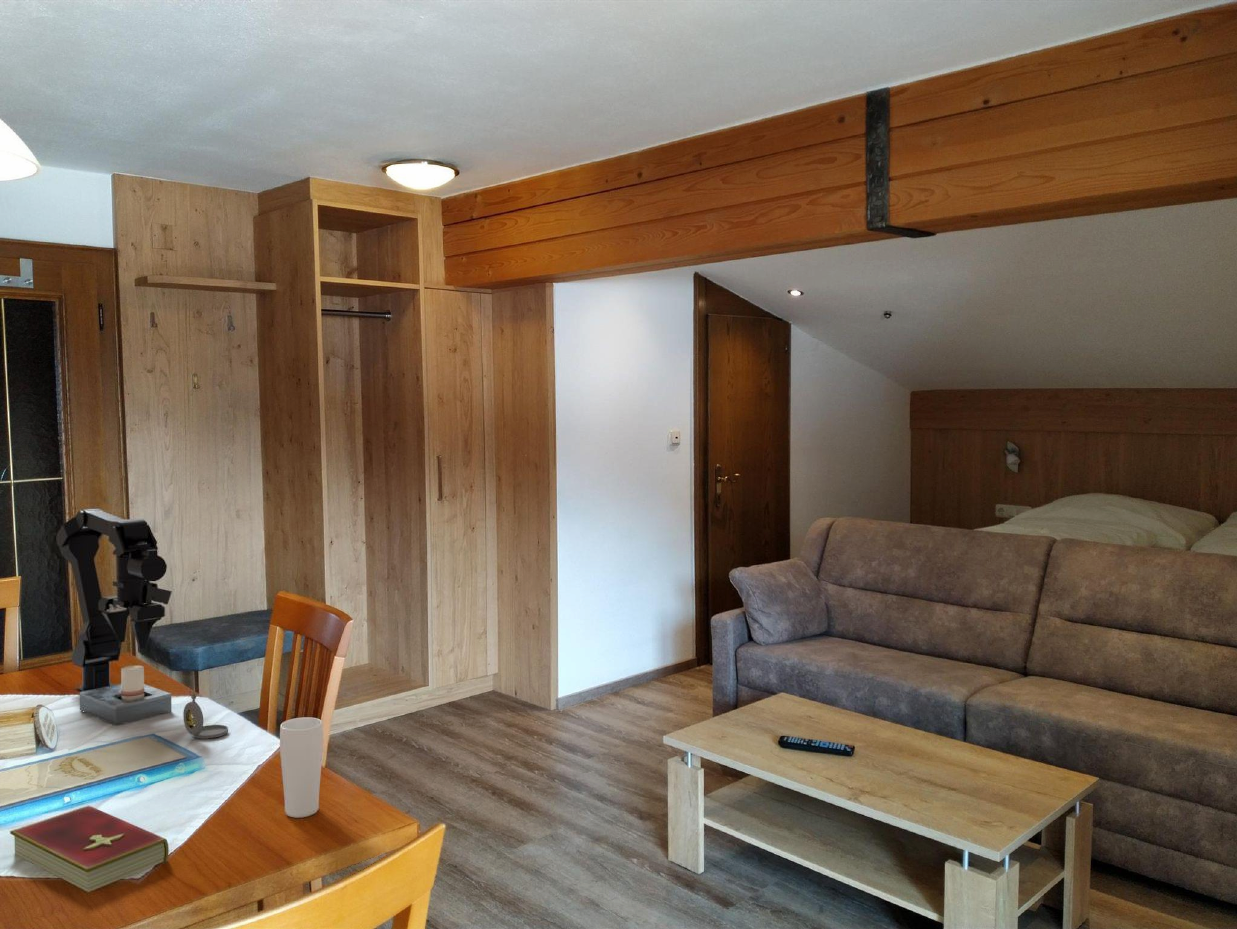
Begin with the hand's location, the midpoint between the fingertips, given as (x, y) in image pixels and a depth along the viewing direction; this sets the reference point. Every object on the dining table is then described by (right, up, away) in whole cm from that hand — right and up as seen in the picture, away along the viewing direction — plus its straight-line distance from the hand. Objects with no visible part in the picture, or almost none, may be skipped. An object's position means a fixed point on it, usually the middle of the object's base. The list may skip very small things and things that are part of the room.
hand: (131, 645), depth 216 cm
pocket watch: (+25, -15, -21) cm, 36 cm away
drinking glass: (+57, -17, -57) cm, 82 cm away
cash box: (+1, -13, -5) cm, 14 cm away
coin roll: (+4, -14, -7) cm, 16 cm away
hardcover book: (+31, -18, -73) cm, 82 cm away
